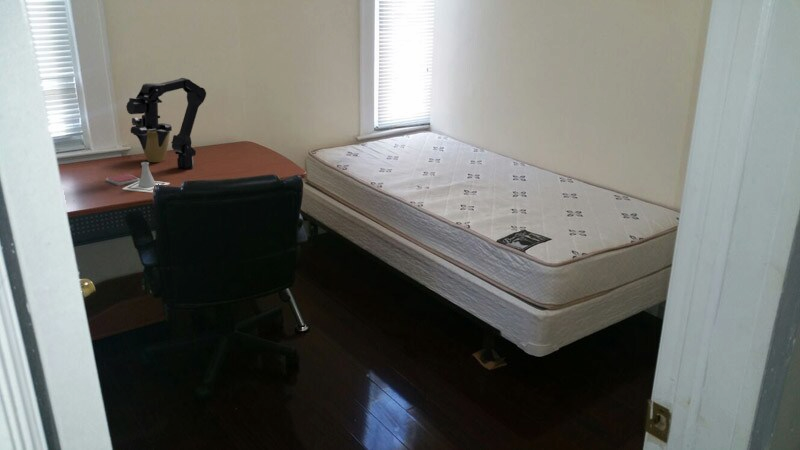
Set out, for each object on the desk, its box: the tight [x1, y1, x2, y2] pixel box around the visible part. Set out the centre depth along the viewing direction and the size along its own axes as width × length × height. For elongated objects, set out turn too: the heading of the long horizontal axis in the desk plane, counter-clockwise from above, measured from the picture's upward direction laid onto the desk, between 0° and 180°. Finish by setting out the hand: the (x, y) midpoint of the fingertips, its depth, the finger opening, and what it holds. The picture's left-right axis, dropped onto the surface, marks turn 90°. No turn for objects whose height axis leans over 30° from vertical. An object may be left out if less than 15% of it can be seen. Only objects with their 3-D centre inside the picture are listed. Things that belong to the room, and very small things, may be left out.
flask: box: [139, 161, 156, 187], centre depth 275 cm, size 7×7×10 cm
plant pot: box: [142, 128, 171, 163], centre depth 313 cm, size 15×15×16 cm
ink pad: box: [105, 173, 140, 186], centre depth 282 cm, size 10×10×2 cm
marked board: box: [121, 180, 171, 194], centre depth 276 cm, size 14×14×1 cm
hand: (152, 147), depth 288 cm, fingers open, 9 cm apart
